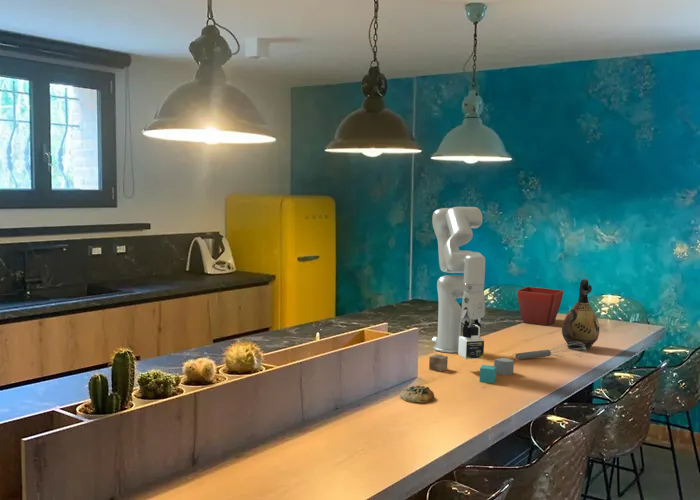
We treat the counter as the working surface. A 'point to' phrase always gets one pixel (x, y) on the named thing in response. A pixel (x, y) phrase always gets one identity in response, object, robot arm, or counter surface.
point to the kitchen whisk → (541, 353)
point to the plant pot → (539, 304)
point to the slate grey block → (504, 366)
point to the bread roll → (417, 394)
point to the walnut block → (438, 362)
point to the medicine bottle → (471, 344)
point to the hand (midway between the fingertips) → (471, 335)
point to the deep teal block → (487, 374)
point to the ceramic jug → (581, 322)
